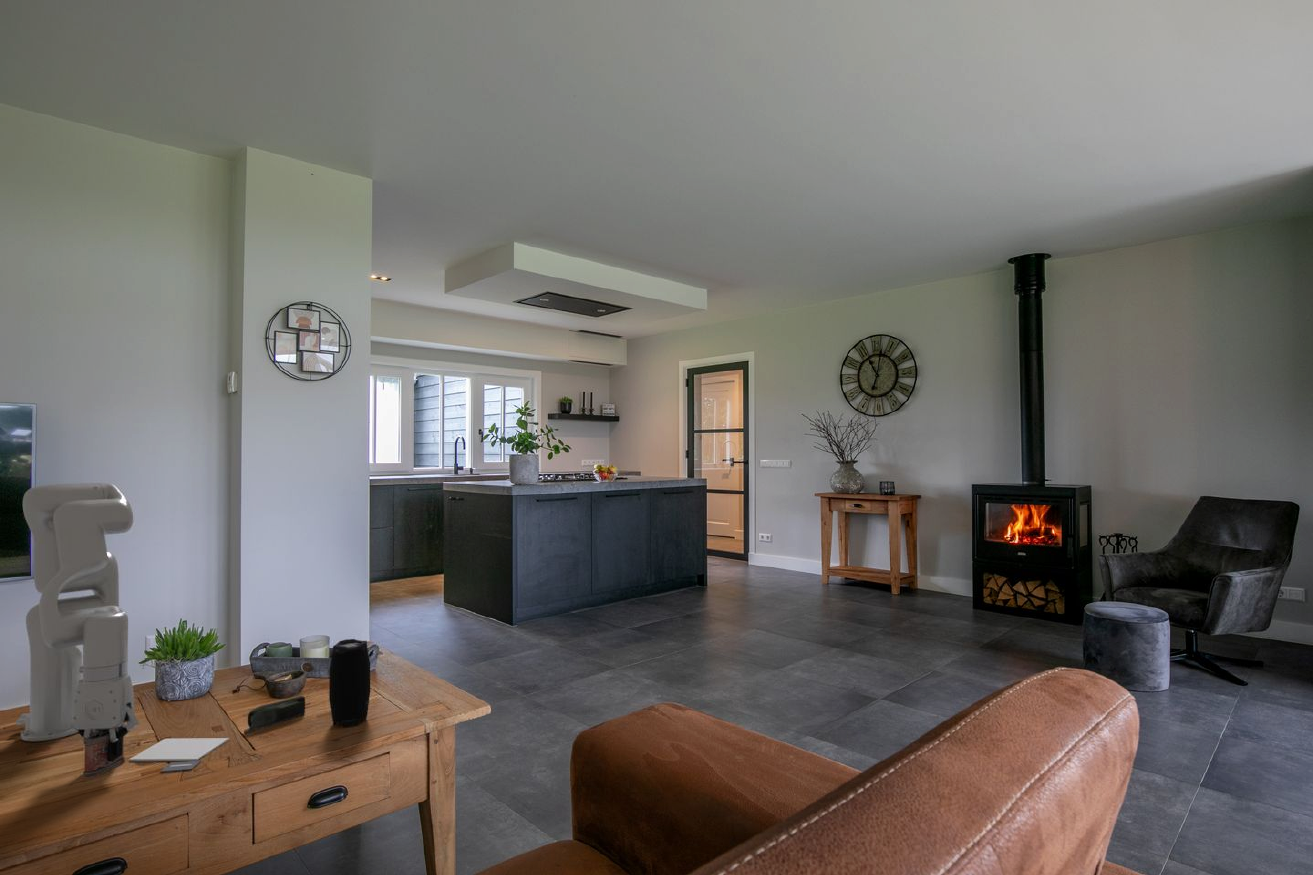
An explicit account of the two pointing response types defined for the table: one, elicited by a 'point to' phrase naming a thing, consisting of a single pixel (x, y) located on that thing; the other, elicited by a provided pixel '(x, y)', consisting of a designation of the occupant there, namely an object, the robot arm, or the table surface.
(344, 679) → the portable speaker
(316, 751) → the table surface
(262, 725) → the dark elongated piece
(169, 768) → the plate
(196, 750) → the paper
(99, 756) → the lighter
